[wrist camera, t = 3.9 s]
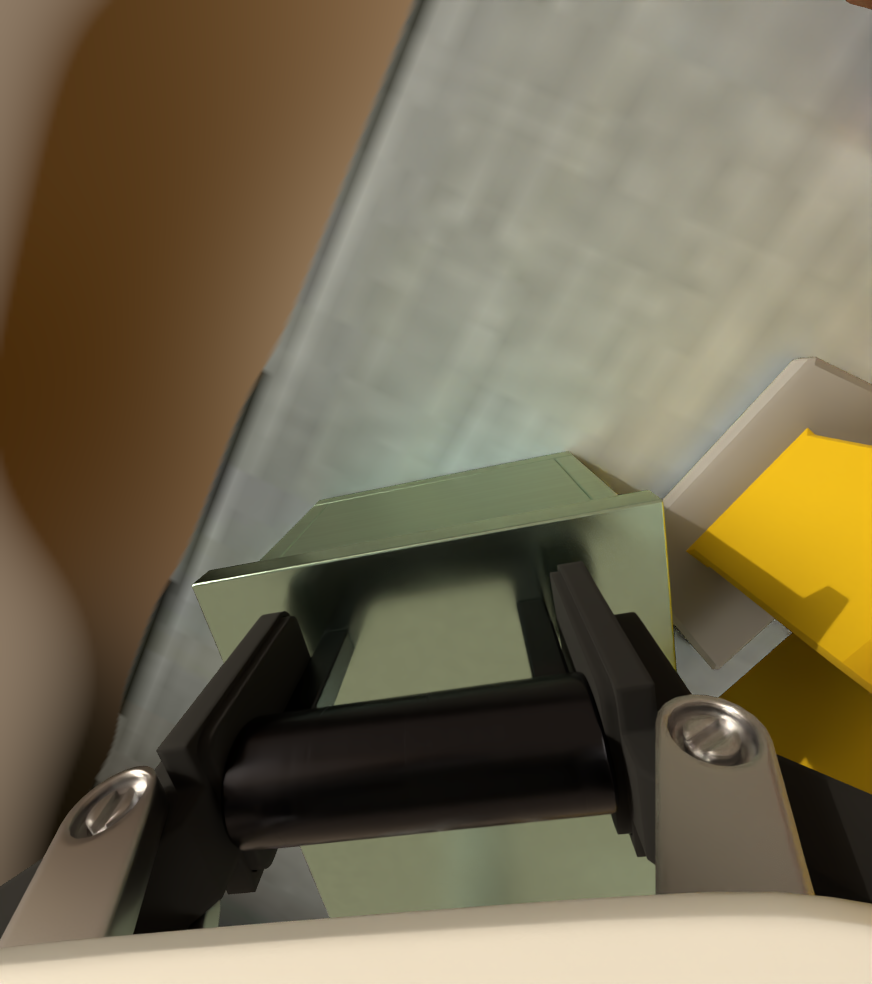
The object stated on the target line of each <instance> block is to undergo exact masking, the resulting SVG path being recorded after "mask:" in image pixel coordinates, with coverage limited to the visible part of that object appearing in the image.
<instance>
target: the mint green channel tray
mask: <svg viewBox="0 0 872 984" xmlns="http://www.w3.org/2000/svg"><path fill="white" fill-rule="evenodd" d="M612 496H617V494H616V493H615V492H614V491H613V490H612V489H611V488H609V487H608V486H607V485H606V484H605V483H604V482H603V481H601V480H600V479H599V478H598V477H597V476H596V475H595V474H594V473H592V472H591V471H590V470H589V469H588V468H587V467H586V466H584V465H583V464H582V463H581V462H580V461H579V460H578V459H577V458H575V457H574V456H573V455H572V454H571V453H570V452H569V451H566V452H561V453H556V454H551V455H546V456H541V457H536V458H530V459H525V460H520V461H515V462H510V463H505V464H500V465H495V466H490V467H485V468H480V469H475V470H470V471H465V472H460V473H455V474H450V475H445V476H439V477H434V478H429V479H424V480H419V481H414V482H409V483H404V484H399V485H394V486H389V487H384V488H379V489H374V490H369V491H364V492H359V493H354V494H348V495H343V496H338V497H333V498H328V499H323V500H319V501H318V502H317V503H316V504H315V505H314V507H313V508H312V509H311V510H310V511H309V512H308V513H307V514H306V515H305V516H304V517H303V518H302V519H301V520H300V521H299V522H298V523H297V524H296V525H295V526H294V527H293V528H292V529H291V530H290V531H289V532H288V533H287V534H286V535H285V536H284V537H283V538H282V539H281V540H280V541H279V542H278V543H277V544H276V545H275V546H274V547H273V548H272V549H271V550H270V551H269V552H268V553H267V554H266V555H265V556H264V557H263V558H262V559H261V560H260V561H264V560H269V559H274V558H280V557H285V556H291V555H296V554H302V553H307V552H313V551H318V550H323V549H329V548H334V547H340V546H345V545H351V544H356V543H362V542H367V541H372V540H378V539H383V538H389V537H394V536H400V535H405V534H410V533H416V532H421V531H427V530H432V529H438V528H443V527H449V526H454V525H459V524H465V523H470V522H476V521H481V520H487V519H492V518H497V517H503V516H508V515H514V514H519V513H525V512H530V511H536V510H541V509H546V508H552V507H557V506H563V505H568V504H574V503H579V502H585V501H590V500H595V499H601V498H606V497H612Z"/></svg>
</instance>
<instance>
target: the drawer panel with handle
mask: <svg viewBox="0 0 872 984" xmlns="http://www.w3.org/2000/svg"><path fill="white" fill-rule="evenodd" d="M579 561H582V562H583V563H584V565H585V566H586V568H587V570H588V571H589V573H590V575H591V577H592V578H593V580H594V582H595V583H596V585H597V587H598V588H599V590H600V592H601V593H602V595H603V597H604V599H605V600H606V602H607V604H608V605H609V607H610V609H611V610H612V612H613V614H614V615H615V614H622V613H628V612H635V613H636V614H637V615H638V616H639V618H640V619H641V621H642V622H643V624H644V625H645V626H646V628H647V629H648V631H649V632H650V634H651V635H652V637H653V638H654V640H655V641H656V643H657V644H658V646H659V647H660V649H661V650H662V651H663V653H664V654H665V656H666V657H667V659H668V660H669V662H670V663H671V665H672V666H673V668H674V669H675V671H676V672H677V669H676V656H675V643H674V631H673V618H672V605H671V592H670V580H669V567H668V554H667V542H666V529H665V516H664V504H663V500H662V499H661V498H660V497H658V496H657V495H655V494H654V493H652V492H651V491H650V490H644V491H639V492H633V493H628V494H623V495H617V496H612V497H606V498H601V499H595V500H590V501H585V502H579V503H574V504H568V505H563V506H557V507H552V508H546V509H541V510H536V511H530V512H525V513H519V514H514V515H508V516H503V517H497V518H492V519H487V520H481V521H476V522H470V523H465V524H459V525H454V526H449V527H443V528H438V529H432V530H427V531H421V532H416V533H410V534H405V535H400V536H394V537H389V538H383V539H378V540H372V541H367V542H362V543H356V544H351V545H345V546H340V547H334V548H329V549H323V550H318V551H313V552H307V553H302V554H296V555H291V556H285V557H280V558H274V559H269V560H264V561H258V562H253V563H247V564H242V565H236V566H231V567H226V568H220V569H215V570H209V571H208V572H207V573H206V574H204V575H203V576H202V577H201V578H200V579H198V580H197V581H196V582H195V583H194V584H193V585H192V588H193V590H194V592H195V595H196V597H197V600H198V602H199V605H200V607H201V609H202V612H203V614H204V617H205V619H206V621H207V624H208V626H209V629H210V631H211V634H212V636H213V638H214V641H215V643H216V646H217V648H218V650H219V653H220V655H221V658H222V660H223V662H224V663H225V661H226V660H227V659H228V657H229V656H230V655H231V654H232V652H233V651H234V650H235V648H236V647H237V646H238V645H239V643H240V642H241V641H242V639H243V638H244V637H245V636H246V634H247V633H248V632H249V630H250V629H251V628H252V627H253V625H254V624H255V623H256V621H257V620H258V619H259V618H260V617H261V616H262V615H264V614H270V613H276V612H282V611H286V612H288V613H289V614H290V616H295V617H296V618H297V620H298V623H299V626H300V628H301V631H302V634H303V637H304V640H305V643H306V645H307V648H308V651H309V654H310V657H311V658H310V660H309V662H308V664H307V666H306V668H305V670H304V672H303V674H302V676H301V678H300V680H299V682H298V684H297V686H296V688H295V690H294V692H293V694H292V696H291V698H290V700H289V702H288V704H287V705H286V707H285V709H284V711H283V713H276V714H269V715H262V716H258V717H255V718H254V719H252V720H251V721H249V722H248V723H247V724H246V725H244V727H243V728H242V729H241V730H240V732H239V733H238V735H237V736H236V738H235V740H234V742H233V744H232V747H231V749H230V751H229V754H228V757H227V761H226V764H225V768H224V773H223V779H222V787H221V813H222V820H223V824H224V828H225V831H226V834H227V836H228V838H229V840H230V841H231V843H232V844H233V845H234V846H236V847H237V848H239V849H240V850H243V851H256V850H266V849H276V848H286V847H296V846H300V848H301V851H302V853H303V855H304V858H305V860H306V863H307V865H308V868H309V870H310V872H311V875H312V877H313V880H314V882H315V884H316V887H317V889H318V892H319V894H320V896H321V899H322V901H323V904H324V906H325V909H326V911H327V913H328V916H329V918H336V917H348V916H361V915H373V914H386V913H398V912H411V911H424V910H438V909H451V908H465V907H478V906H492V905H505V904H518V903H532V902H545V901H559V900H572V899H587V898H605V897H624V896H643V895H655V864H653V863H652V862H650V861H649V860H647V857H637V855H636V852H635V850H634V847H633V844H632V841H631V838H630V835H629V834H620V835H618V834H617V831H616V829H615V826H614V823H613V820H612V817H611V814H614V813H616V812H617V811H618V809H619V793H618V785H617V779H616V774H615V769H614V764H613V760H612V755H611V751H610V747H609V743H608V739H607V736H606V735H605V731H604V728H603V724H602V721H601V717H600V714H599V711H598V708H597V705H596V702H595V699H594V696H593V693H592V690H591V688H590V685H589V683H588V681H587V679H586V677H585V675H584V674H583V673H582V672H578V671H576V672H569V669H568V666H567V663H566V660H565V657H564V654H563V651H562V648H561V642H560V636H559V629H558V623H557V617H556V611H555V605H554V598H553V592H552V586H551V580H550V573H551V572H557V571H558V565H561V564H567V563H573V562H579Z"/></svg>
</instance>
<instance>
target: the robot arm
mask: <svg viewBox="0 0 872 984" xmlns="http://www.w3.org/2000/svg"><path fill="white" fill-rule="evenodd" d="M550 580H551V586H552V592H553V598H554V605H555V611H556V617H557V623H558V629H559V636H560V642H561V648H562V651H563V654H564V657H565V660H566V663H567V666H568V669H569V672H576V671H578V672H582V673H583V674H584V675H585V677H586V679H587V681H588V683H589V685H590V688H591V690H592V693H593V696H594V699H595V702H596V705H597V708H598V711H599V714H600V717H601V721H602V724H603V728H604V731H605V735H606V736H607V739H608V743H609V747H610V751H611V755H612V760H613V764H614V769H615V774H616V779H617V785H618V793H619V809H618V811H617V812H616V813H614V814H611V817H612V820H613V823H614V826H615V829H616V831H617V834H618V835H620V834H629V835H630V838H631V841H632V844H633V847H634V850H635V852H636V855H637V857H647V860H649V861H650V862H652V863H653V864H655V895H643V896H624V897H605V898H587V899H572V900H559V901H545V902H532V903H518V904H505V905H492V906H478V907H465V908H451V909H438V910H424V911H411V912H398V913H386V914H373V915H361V916H348V917H336V918H323V919H311V920H299V921H286V922H274V923H262V924H250V925H238V926H226V927H218V923H219V915H220V899H221V898H222V897H223V895H224V893H225V890H226V891H227V893H228V894H237V893H248V892H255V891H256V889H257V886H258V883H259V881H260V878H261V876H262V873H263V870H264V869H266V868H268V867H269V866H270V865H271V864H272V862H273V860H274V857H275V854H276V852H277V849H278V848H276V849H266V850H256V851H243V850H240V849H239V848H237V847H236V846H234V845H233V844H232V843H231V841H230V840H229V838H228V836H227V834H226V831H225V828H224V824H223V820H222V813H221V787H222V779H223V773H224V768H225V764H226V761H227V757H228V754H229V751H230V749H231V747H232V744H233V742H234V740H235V738H236V736H237V735H238V733H239V732H240V730H241V729H242V728H243V727H244V725H246V724H247V723H248V722H249V721H251V720H252V719H254V718H255V717H258V716H262V715H269V714H276V713H283V711H284V709H285V707H286V705H287V704H288V702H289V700H290V698H291V696H292V694H293V692H294V690H295V688H296V686H297V684H298V682H299V680H300V678H301V676H302V674H303V672H304V670H305V668H306V666H307V664H308V662H309V660H310V658H311V657H310V654H309V651H308V648H307V645H306V643H305V640H304V637H303V634H302V631H301V628H300V626H299V623H298V620H297V618H296V617H295V616H290V614H289V613H288V612H286V611H282V612H276V613H270V614H264V615H262V616H261V617H260V618H259V619H258V620H257V621H256V623H255V624H254V625H253V627H252V628H251V629H250V630H249V632H248V633H247V634H246V636H245V637H244V638H243V639H242V641H241V642H240V643H239V645H238V646H237V647H236V648H235V650H234V651H233V652H232V654H231V655H230V656H229V657H228V659H227V660H226V661H225V663H224V664H223V665H222V666H221V668H220V669H219V670H218V672H217V673H216V674H215V675H214V677H213V678H212V679H211V681H210V682H209V683H208V684H207V686H206V687H205V688H204V690H203V691H202V692H201V693H200V695H199V696H198V697H197V699H196V700H195V701H194V702H193V704H192V705H191V706H190V708H189V709H188V710H187V711H186V713H185V714H184V715H183V717H182V718H181V719H180V720H179V722H178V723H177V724H176V726H175V727H174V728H173V729H172V731H171V732H170V733H169V735H168V736H167V737H166V738H165V740H164V741H163V742H162V744H161V745H160V746H159V747H158V749H157V750H156V751H157V753H158V755H159V757H160V759H161V762H160V763H159V765H158V766H157V767H156V769H155V770H154V769H152V768H150V767H148V766H139V767H134V768H130V769H127V770H124V771H122V772H120V773H118V774H116V775H114V776H112V777H110V778H108V779H107V780H105V781H104V782H102V783H101V784H99V785H98V786H96V787H95V788H94V789H92V790H91V791H90V792H89V793H88V794H86V795H85V796H84V797H83V798H82V799H81V800H80V801H79V802H78V803H77V804H76V805H75V806H74V807H73V808H72V809H71V811H70V812H69V813H68V815H67V816H66V818H65V819H64V821H63V822H62V824H61V826H60V827H59V829H58V831H57V833H56V835H55V837H54V839H53V841H52V843H51V844H50V846H49V848H48V850H47V852H46V854H45V856H44V858H42V859H41V860H39V861H38V862H36V863H35V864H34V865H32V866H30V867H29V868H27V869H26V870H24V871H23V872H21V873H20V874H18V875H17V876H15V877H14V878H12V879H11V880H9V881H8V882H6V883H5V884H3V885H2V886H0V984H872V794H870V793H867V792H865V791H863V790H860V789H858V788H855V787H853V786H851V785H848V784H846V783H844V782H841V781H839V780H837V779H834V778H832V777H830V776H827V775H825V774H823V773H820V772H818V771H815V770H813V769H811V768H808V767H806V766H804V765H801V764H799V763H797V762H794V761H792V760H790V759H787V758H785V757H783V756H780V755H778V754H776V752H775V748H774V744H773V741H772V739H771V737H770V735H769V733H768V731H767V729H766V727H765V726H764V725H763V724H762V723H761V722H760V721H759V720H758V719H757V718H756V717H755V716H754V715H753V714H751V713H750V712H748V711H747V710H745V709H744V708H742V707H741V706H739V705H737V704H734V703H732V702H730V701H727V700H725V699H722V698H717V697H713V696H709V695H692V694H691V693H690V691H689V690H688V688H687V687H686V685H685V684H684V682H683V681H682V679H681V678H680V676H679V675H678V673H677V672H676V671H675V669H674V668H673V666H672V665H671V663H670V662H669V660H668V659H667V657H666V656H665V654H664V653H663V651H662V650H661V649H660V647H659V646H658V644H657V643H656V641H655V640H654V638H653V637H652V635H651V634H650V632H649V631H648V629H647V628H646V626H645V625H644V624H643V622H642V621H641V619H640V618H639V616H638V615H637V614H636V613H635V612H628V613H622V614H615V615H614V614H613V612H612V610H611V609H610V607H609V605H608V604H607V602H606V600H605V599H604V597H603V595H602V593H601V592H600V590H599V588H598V587H597V585H596V583H595V582H594V580H593V578H592V577H591V575H590V573H589V571H588V570H587V568H586V566H585V565H584V563H583V562H582V561H579V562H573V563H567V564H561V565H558V571H557V572H551V573H550Z"/></svg>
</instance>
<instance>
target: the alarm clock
mask: <svg viewBox="0 0 872 984" xmlns="http://www.w3.org/2000/svg"><path fill="white" fill-rule="evenodd" d="M663 504H664V516H665V529H666V542H667V554H668V567H669V580H670V592H671V605H672V618H673V624H674V625H675V626H676V627H677V628H678V629H679V631H680V632H681V633H682V634H683V635H684V636H685V638H686V639H687V640H688V641H689V642H690V643H691V645H692V646H693V647H694V648H695V649H696V650H697V652H698V653H699V654H700V655H701V656H702V657H703V659H704V660H705V661H706V662H707V663H708V664H709V666H710V667H711V668H712V669H720V668H721V667H722V666H723V665H724V664H725V663H726V662H727V661H729V660H730V659H731V658H732V657H733V656H734V655H735V654H736V653H737V652H738V651H740V650H741V649H742V648H743V647H744V646H745V645H746V644H747V643H748V642H750V641H751V640H752V639H753V638H754V637H755V636H756V635H757V634H758V633H760V632H761V631H762V630H763V629H764V628H765V627H766V626H767V625H768V624H770V623H771V622H772V621H773V620H774V619H776V620H777V621H779V622H780V623H781V624H782V625H784V626H785V627H786V628H788V629H789V630H790V631H791V632H793V633H791V634H790V635H789V636H788V637H787V638H786V639H785V640H784V641H782V642H781V643H780V644H779V645H778V646H777V647H776V648H774V649H773V650H772V651H771V652H770V653H769V654H768V655H766V656H765V657H764V658H763V659H762V660H761V661H760V662H758V663H757V664H756V665H755V666H754V667H753V668H752V669H751V670H749V671H748V672H747V673H746V674H745V675H744V676H743V677H741V678H740V679H739V680H738V681H737V682H736V683H735V684H733V685H732V686H731V687H730V688H729V689H728V690H727V691H725V692H724V693H723V694H722V695H721V696H720V697H719V698H722V699H725V700H727V701H730V702H732V703H734V704H737V705H739V706H741V707H742V708H744V709H745V710H747V711H748V712H750V713H751V714H753V715H754V716H755V717H756V718H757V719H758V720H759V721H760V722H761V723H762V724H763V725H764V726H765V727H766V729H767V731H768V733H769V735H770V737H771V739H772V741H773V744H774V748H775V752H776V754H778V755H780V756H783V757H785V758H787V759H790V760H792V761H794V762H797V763H799V764H801V765H804V766H806V767H808V768H811V769H813V770H815V771H818V772H820V773H823V774H825V775H827V776H830V777H832V778H834V779H837V780H839V781H841V782H844V783H846V784H848V785H851V786H853V787H855V788H858V789H860V790H863V791H865V792H867V793H870V794H872V384H870V383H868V382H866V381H864V380H861V379H859V378H857V377H855V376H853V375H851V374H849V373H847V372H845V371H843V370H841V369H839V368H837V367H835V366H833V365H831V364H829V363H827V362H825V361H823V360H821V359H819V358H817V357H808V358H798V359H794V360H792V361H791V363H790V364H789V365H788V366H787V367H786V368H785V369H784V370H783V371H782V372H781V373H780V374H779V375H778V377H777V378H776V379H775V380H774V381H773V382H772V383H771V384H770V385H769V386H768V387H767V388H766V389H765V390H764V392H763V393H762V394H761V395H760V396H759V397H758V398H757V399H756V400H755V401H754V402H753V403H752V404H751V405H750V407H749V408H748V409H747V410H746V411H745V412H744V413H743V414H742V415H741V416H740V417H739V418H738V419H737V420H736V422H735V423H734V424H733V425H732V426H731V427H730V428H729V429H728V430H727V431H726V432H725V433H724V434H723V436H722V437H721V438H720V439H719V440H718V441H717V442H716V443H715V444H714V445H713V446H712V447H711V448H710V449H709V451H708V452H707V453H706V454H705V455H704V456H703V457H702V458H701V459H700V460H699V461H698V462H697V463H696V464H695V466H694V467H693V468H692V469H691V470H690V471H689V472H688V473H687V474H686V475H685V476H684V477H683V478H682V479H681V481H680V482H679V483H678V484H677V485H676V486H675V487H674V488H673V489H672V490H671V491H670V492H669V493H668V495H667V496H666V497H665V498H664V499H663Z"/></svg>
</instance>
